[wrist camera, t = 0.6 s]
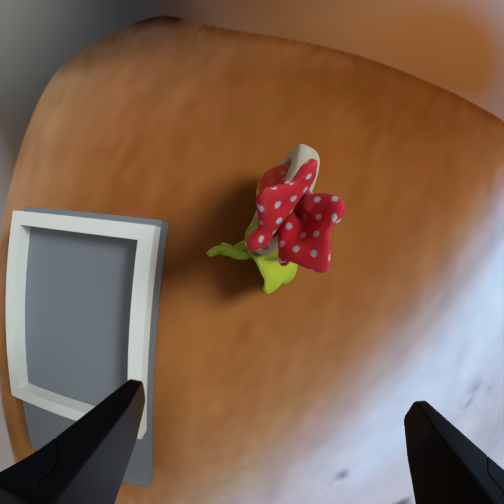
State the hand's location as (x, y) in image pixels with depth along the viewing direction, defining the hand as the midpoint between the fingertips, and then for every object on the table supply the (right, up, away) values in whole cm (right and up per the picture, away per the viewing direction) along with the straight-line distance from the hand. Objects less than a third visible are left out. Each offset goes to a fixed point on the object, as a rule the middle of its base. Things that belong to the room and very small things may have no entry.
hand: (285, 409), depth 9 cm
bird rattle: (0, +7, +14) cm, 16 cm away
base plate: (-14, -3, +13) cm, 20 cm away
